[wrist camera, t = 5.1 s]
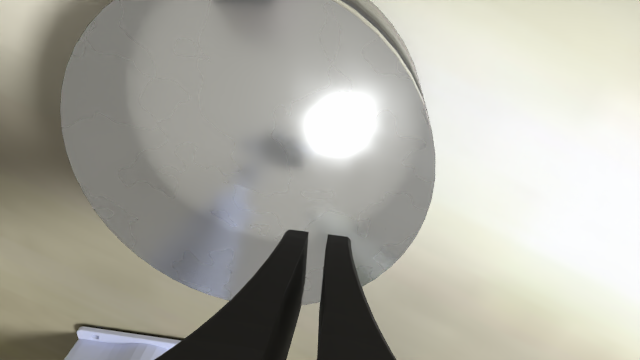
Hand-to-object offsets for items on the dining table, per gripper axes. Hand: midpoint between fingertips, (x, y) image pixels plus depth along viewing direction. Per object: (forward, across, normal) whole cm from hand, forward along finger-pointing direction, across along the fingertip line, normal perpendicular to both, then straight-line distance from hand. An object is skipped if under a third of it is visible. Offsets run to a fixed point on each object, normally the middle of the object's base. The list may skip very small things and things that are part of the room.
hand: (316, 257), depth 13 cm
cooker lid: (+5, +3, -2) cm, 6 cm away
